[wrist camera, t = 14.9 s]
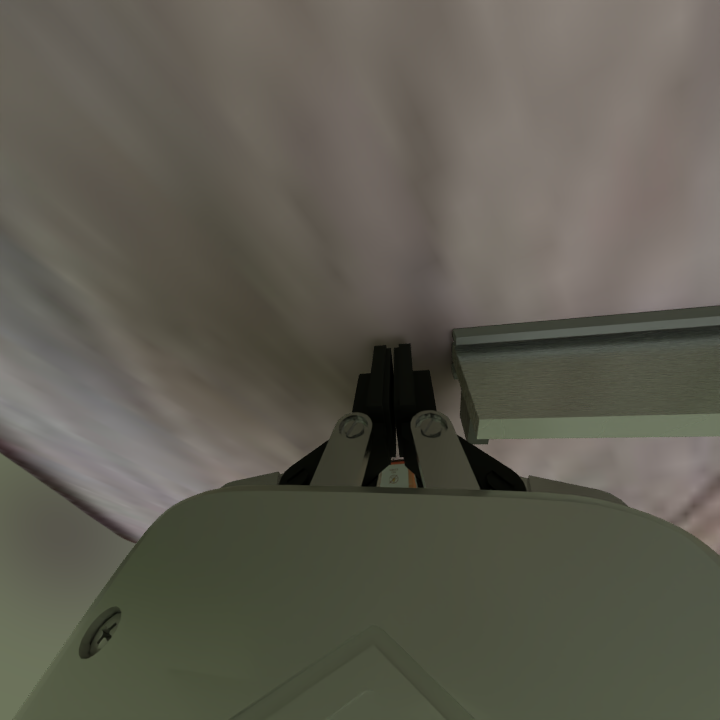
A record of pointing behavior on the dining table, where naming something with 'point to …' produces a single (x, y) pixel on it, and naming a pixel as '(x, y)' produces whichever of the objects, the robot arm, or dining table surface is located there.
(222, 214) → the dining table surface
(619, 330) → the housing
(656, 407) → the gate
